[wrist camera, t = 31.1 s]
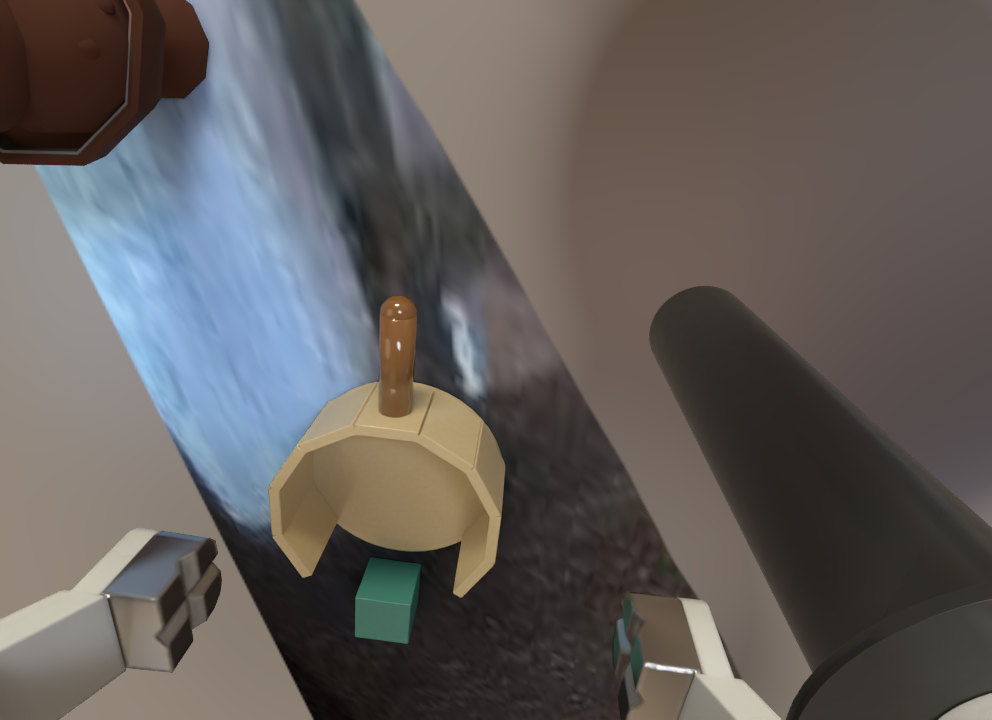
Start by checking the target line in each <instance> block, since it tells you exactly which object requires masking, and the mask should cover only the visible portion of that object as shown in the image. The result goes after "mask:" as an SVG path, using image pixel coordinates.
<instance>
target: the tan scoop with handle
mask: <svg viewBox="0 0 992 720" xmlns="http://www.w3.org/2000/svg"><path fill="white" fill-rule="evenodd" d="M416 325H417V310H416V306H415V304H414V303H413V302H412V301H411V300H410V299H409V298H407V297H405V296H402V295H394V296H391V297H389V298H388V299H386V300H385V301H384V302H383V304H382V306H381V309H380V332H379V382H374V383H368V384H365V385H362V386H359V387H355V388H353V389H351V390H349V391H347V392H345V393H343V394H342V395H340V396H339V397H337V398H335V399H333V400H330V401H329V402H327V404H326V405H325V406H324V408H323V409H322V411H321V412H320V413H319V415H318V416H317V417H316V419H315V420H314V422H313V423H312V424H311V426H310V427H309V429H308V430H307V431H306V433H305V434H304V436H303V437H302V438H301V440H300V441H299V443H298V444H297V445H296V447H295V448H294V450H293V451H292V453H291V454H290V455H289V457H288V458H287V460H286V461H285V463H284V464H283V466H282V467H281V469H280V470H279V472H278V473H277V475H276V476H275V477H274V479H273V480H272V482H271V483H270V485H269V489H268V491H269V504H270V516H271V529H272V535H274V536H273V539H274V540H275V541H276V543H277V544H278V545H279V547H280V548H281V549H282V551H283V552H284V553H285V555H286V556H287V557H288V559H289V560H290V561H291V563H292V564H293V565H294V567H295V568H296V569H297V571H298V572H299V573H300V575H301V576H302V577H303V578H304V577H308V576H311V575H312V573H313V571H314V569H315V567H316V565H317V563H318V561H319V559H320V557H321V555H322V553H323V550H324V548H325V546H326V544H327V542H328V540H329V538H330V536H331V534H332V532H333V530H334V528H335V526H336V524H338V525H340V526H341V527H342V528H343V529H345V530H346V531H348V532H350V533H351V534H353V535H354V536H356V537H358V538H360V539H362V540H364V541H367V542H369V543H372V544H374V545H377V546H381V547H384V548H388V549H394V550H399V551H428V550H435V549H439V548H444V547H447V546H450V545H453V544H455V543H458V542H460V541H461V547H460V553H459V559H458V565H457V571H456V577H455V583H454V589H453V594H455V595H457V596H459V597H460V598H462V597H463V596H464V595H465V594H466V593H467V592H468V591H469V590H470V589H471V588H472V587H473V586H474V585H475V584H476V583H477V582H478V581H479V580H480V579H481V578H482V577H483V576H484V575H485V574H486V573H487V572H488V571H489V570H490V569H491V568H492V567H493V566H494V563H495V560H496V552H497V545H498V538H499V531H500V523H501V515H502V502H503V489H504V476H505V463H504V461H503V459H502V457H501V453H500V449H499V447H498V444H497V442H496V440H495V438H494V436H493V434H492V433H491V431H490V429H489V428H488V426H487V425H486V424H485V423H484V421H483V420H482V419H481V418H480V417H479V416H478V415H477V414H476V413H475V412H474V411H473V410H472V409H471V408H470V407H469V406H467V405H466V404H465V403H463V402H462V401H461V400H459V399H457V398H455V397H454V396H452V395H450V394H449V393H446V392H444V391H442V390H439V389H437V388H435V387H431V386H428V385H425V384H421V383H415V382H414V366H415V345H416Z"/></svg>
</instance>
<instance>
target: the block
mask: <svg viewBox="0 0 992 720" xmlns="http://www.w3.org/2000/svg"><path fill="white" fill-rule="evenodd" d="M420 572H421V564H418V563H410V562H403V561H396V560H388V559H381V558H373V557H370V559H369V562H368V565H367V568H366V570H365V573H364V576H363V579H362V581H361V584H360V587H359V589H358V592H357V595H356V598H355V637H361V638H368V639H376V640H383V641H391V642H398V643H405V644H408V642H409V638H410V634H411V629H412V625H413V621H414V617H415V612H416V608H417V604H418V597H419V585H420Z"/></svg>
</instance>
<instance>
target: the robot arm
mask: <svg viewBox="0 0 992 720" xmlns="http://www.w3.org/2000/svg"><path fill="white" fill-rule="evenodd" d="M217 554H218V551H217V546H216V541H215V540H213V539H210V538H205V537H198V536H192V535H185V534H178V533H172V532H166V531H156V530H150V529H144V528H136V529H134V530H131V531H129V532H128V533H127V534H126V535H125V536H124V537H123V538H122V539H121V540H120V541H119V542H118V543H117V544H116V545H115V546H114V547H113V548H112V549H111V550H110V551H109V552H108V553H107V554H106V555H105V556H104V557H103V558H102V559H101V560H100V561H99V562H98V563H97V564H96V565H95V566H94V567H93V568H92V569H91V570H90V571H89V572H88V573H87V574H86V575H85V576H84V577H83V578H82V579H81V580H80V581H79V582H78V583H77V584H76V586H74V587H73V588H72V589H71V590H70V591H65V590H61V591H59V592H57V593H55V594H53V595H51V596H48V597H46V598H44V599H42V600H40V601H38V602H36V603H34V604H32V605H30V606H28V607H25V608H23V609H21V610H19V611H17V612H15V613H12V614H10V615H8V616H6V617H4V618H2V619H0V720H59V719H60V718H62V717H63V716H64V715H66V714H67V713H69V712H70V711H71V710H73V709H74V708H75V707H77V706H78V705H79V704H81V703H82V702H84V701H85V700H86V699H88V698H89V697H90V696H92V695H93V694H95V693H96V692H97V691H99V690H100V689H102V688H103V687H104V686H105V685H107V684H108V683H109V682H111V681H112V680H114V679H115V678H117V677H118V676H119V675H120V674H122V673H123V672H125V671H126V668H132V669H142V670H152V671H162V672H171V673H172V672H173V671H174V669H175V668H176V666H177V665H178V663H179V662H180V660H181V658H182V657H183V656H184V654H185V653H186V651H187V649H188V648H189V646H190V645H191V643H192V642H193V634H192V629H194V628H195V627H197V626H198V625H200V624H202V623H203V622H205V621H207V619H208V617H209V616H210V614H211V613H212V611H213V609H214V608H215V605H216V603H217V600H218V597H219V594H220V591H221V582H222V579H221V571H220V570H219V569H218V567H217V566H216V565H215V564H214V563H213V562H212V561H213V560H214V558H215V557H216V555H217ZM621 609H622V615H623V618H621V619H620V620H619V621H617V622H616V627H615V631H614V636H613V649H612V651H613V666H614V674H615V676H616V677H617V678H618V679H619V681H620V682H621V683H622V684H621V687H620V691H619V694H618V703H619V709H620V716H621V720H782V719H781V718H780V717H779V716H778V715H777V714H776V713H775V712H774V711H773V710H772V709H771V708H770V707H769V706H768V705H767V704H766V703H765V702H764V701H763V700H762V699H761V698H760V697H759V696H758V695H757V694H756V693H755V692H754V691H753V690H752V689H751V688H750V687H749V686H748V685H747V684H746V683H745V682H744V681H743V680H741V679H735V678H734V676H733V673H732V670H731V667H730V665H729V662H728V659H727V656H726V653H725V651H724V648H723V645H722V642H721V639H720V637H719V634H718V631H717V628H716V625H715V623H714V620H713V617H712V614H711V612H710V609H709V606H708V604H707V603H706V602H705V601H703V600H695V599H686V598H676V597H670V596H661V595H653V594H644V593H636V592H626V593H625V595H624V597H623V600H622V604H621ZM938 720H992V693H990V694H986V695H983V696H980V697H978V698H975V699H972V700H970V701H968V702H965V703H963V704H961V705H959V706H957V707H956V708H954V709H952V710H950V711H949V712H947V713H946V714H944V715H943V716H942V717H940V718H939V719H938Z"/></svg>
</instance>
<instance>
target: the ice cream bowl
mask: <svg viewBox="0 0 992 720" xmlns="http://www.w3.org/2000/svg"><path fill="white" fill-rule="evenodd" d="M208 46H209V42H208V39H207V37H206V35H205V33H204V30H203V28H202V26H201V24H200V22H199V19H198V17H197V15H196V13H195V10H194V8H193V6H192V5H191V4H190V3H188V2H187V1H186V0H0V162H1V163H3V164H31V165H75V166H85V165H87V164H89V163H91V162H94V161H96V160H98V159H100V158H103V157H105V156H106V155H107V154H108V153H109V152H110V151H111V150H112V149H113V148H114V147H115V146H116V145H117V144H118V143H119V142H120V141H121V140H122V139H123V138H124V137H125V136H126V135H127V134H128V133H129V132H130V131H131V130H132V129H133V128H135V127H136V126H137V125H138V124H139V123H140V122H141V121H142V120H143V119H144V118H145V117H146V116H147V115H148V114H149V113H150V112H151V111H152V110H153V109H154V108H155V106H156V105H157V104H158V102H159V101H160V100H161V98H185V97H186V96H187V95H188V94H189V93H190V92H191V91H192V90H193V89H194V88H195V87H196V86H197V85H198V84H199V83H200V82H201V81H203V80H204V79H205V76H206V66H207V56H208Z"/></svg>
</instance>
